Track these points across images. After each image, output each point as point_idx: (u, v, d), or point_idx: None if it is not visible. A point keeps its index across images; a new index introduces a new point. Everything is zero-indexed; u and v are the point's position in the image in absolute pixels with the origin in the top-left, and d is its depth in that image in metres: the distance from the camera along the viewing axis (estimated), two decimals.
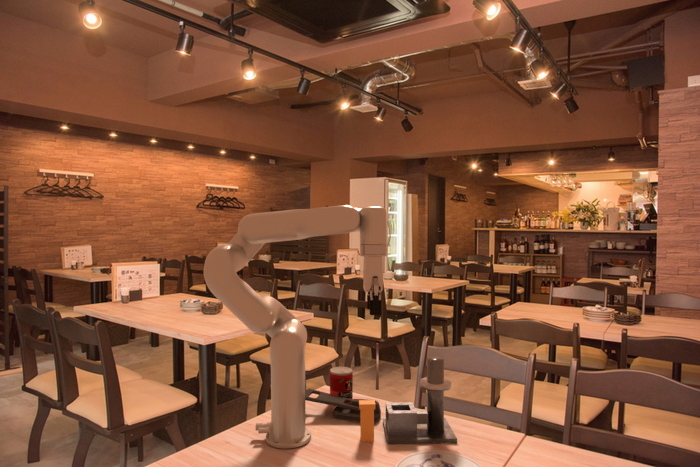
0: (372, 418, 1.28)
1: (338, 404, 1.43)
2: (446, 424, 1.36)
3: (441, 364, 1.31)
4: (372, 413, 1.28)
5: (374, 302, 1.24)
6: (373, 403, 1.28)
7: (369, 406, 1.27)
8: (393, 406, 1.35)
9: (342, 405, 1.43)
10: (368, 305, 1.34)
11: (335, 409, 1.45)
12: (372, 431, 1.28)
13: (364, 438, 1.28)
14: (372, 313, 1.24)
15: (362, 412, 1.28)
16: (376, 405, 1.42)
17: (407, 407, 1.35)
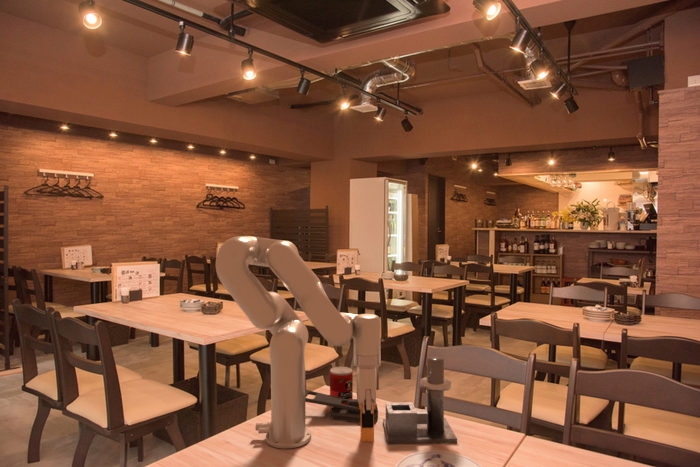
0: None
1: (336, 405, 1.42)
2: (446, 424, 1.36)
3: (441, 364, 1.31)
4: None
5: (366, 416, 1.26)
6: None
7: None
8: (393, 406, 1.35)
9: (340, 405, 1.42)
10: None
11: (332, 410, 1.44)
12: (372, 431, 1.28)
13: (364, 438, 1.28)
14: (364, 426, 1.27)
15: (362, 412, 1.28)
16: None
17: (407, 407, 1.35)
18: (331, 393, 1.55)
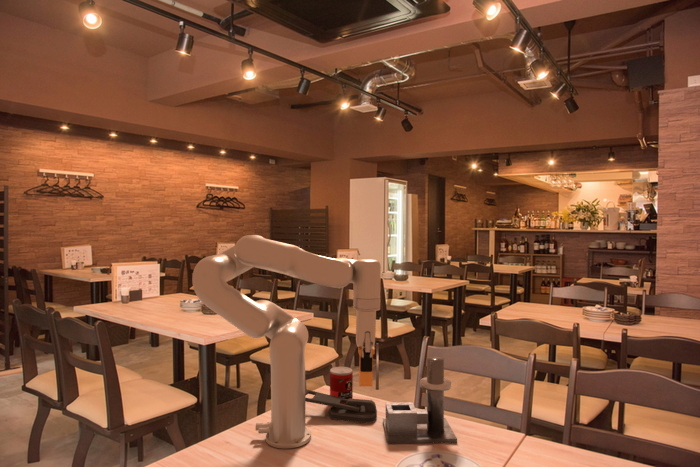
0: None
1: (334, 404, 1.43)
2: (446, 424, 1.36)
3: (441, 364, 1.31)
4: None
5: (365, 359, 1.26)
6: (372, 348, 1.28)
7: None
8: (393, 406, 1.35)
9: (338, 405, 1.42)
10: None
11: (331, 409, 1.45)
12: (371, 376, 1.28)
13: (363, 383, 1.27)
14: (363, 370, 1.27)
15: None
16: (372, 405, 1.42)
17: (407, 407, 1.35)
18: (331, 393, 1.55)
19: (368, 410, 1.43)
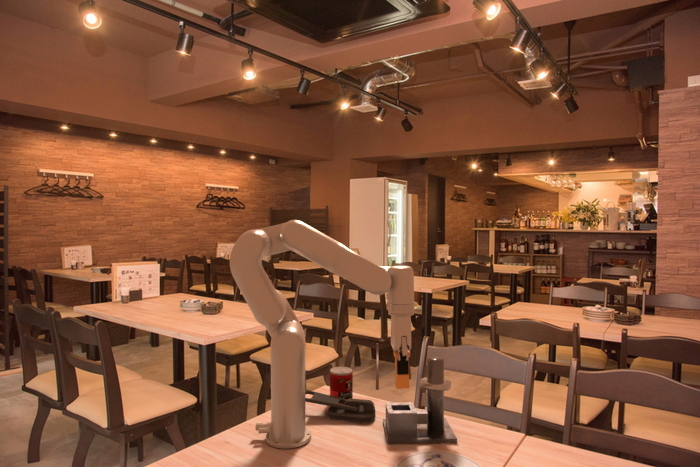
0: None
1: (333, 404, 1.43)
2: (446, 424, 1.36)
3: (441, 364, 1.31)
4: None
5: (402, 362, 1.30)
6: (408, 351, 1.32)
7: None
8: (393, 406, 1.35)
9: (337, 405, 1.43)
10: None
11: (330, 409, 1.45)
12: (407, 378, 1.32)
13: (400, 385, 1.32)
14: (400, 373, 1.31)
15: None
16: (371, 405, 1.42)
17: (407, 407, 1.35)
18: (331, 393, 1.55)
19: (367, 410, 1.43)
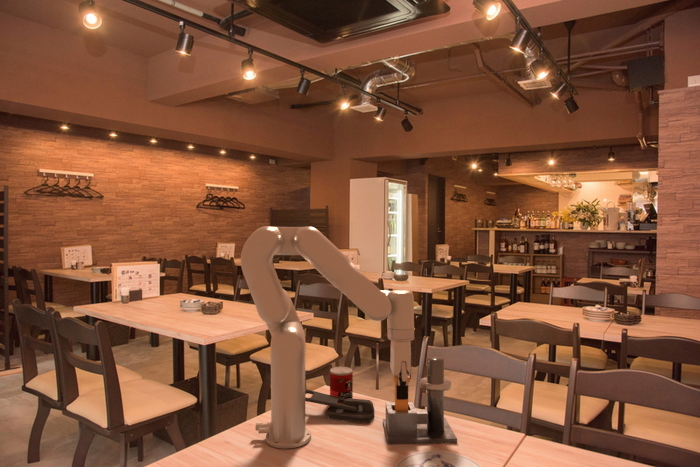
0: None
1: (332, 404, 1.43)
2: (446, 424, 1.36)
3: (441, 364, 1.31)
4: None
5: (401, 388, 1.30)
6: None
7: None
8: (393, 406, 1.35)
9: (336, 405, 1.43)
10: None
11: (329, 409, 1.45)
12: (406, 403, 1.32)
13: None
14: (399, 398, 1.31)
15: None
16: (370, 405, 1.43)
17: None
18: (331, 393, 1.55)
19: (366, 410, 1.43)
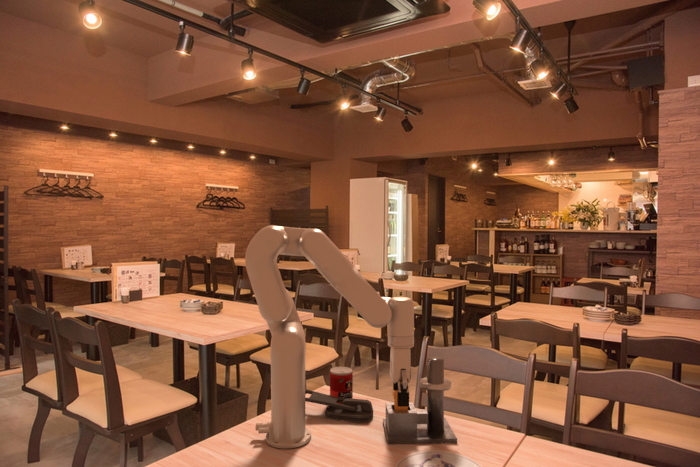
0: (406, 407, 1.32)
1: (330, 404, 1.43)
2: (446, 424, 1.36)
3: (441, 364, 1.31)
4: None
5: (402, 394, 1.27)
6: None
7: None
8: (393, 406, 1.35)
9: (334, 405, 1.43)
10: None
11: (328, 409, 1.45)
12: None
13: None
14: (400, 404, 1.28)
15: (396, 401, 1.32)
16: (368, 405, 1.43)
17: None
18: (331, 393, 1.55)
19: (365, 410, 1.43)
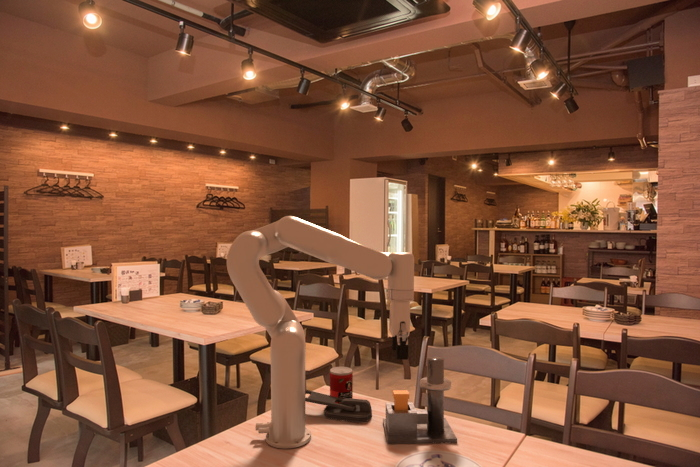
0: (406, 407, 1.32)
1: (329, 403, 1.43)
2: (446, 424, 1.36)
3: (441, 364, 1.31)
4: (406, 402, 1.32)
5: (401, 347, 1.27)
6: (407, 393, 1.32)
7: (403, 396, 1.32)
8: (393, 406, 1.35)
9: (333, 404, 1.43)
10: (393, 346, 1.37)
11: (326, 408, 1.45)
12: None
13: None
14: (399, 357, 1.28)
15: (396, 401, 1.32)
16: (367, 404, 1.43)
17: None
18: (331, 393, 1.55)
19: (363, 410, 1.43)
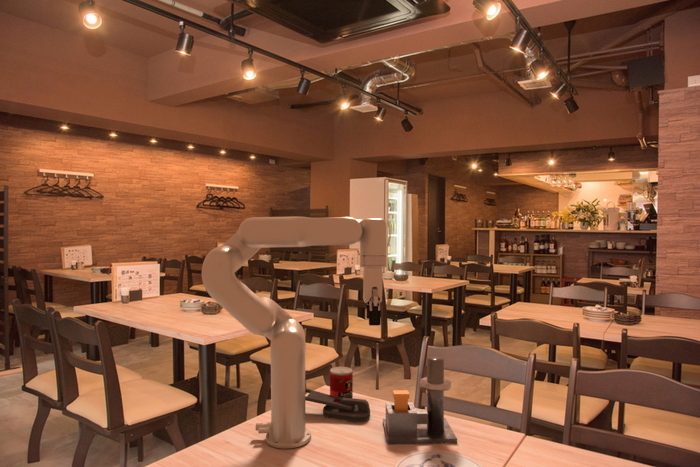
0: (406, 407, 1.32)
1: (327, 403, 1.44)
2: (446, 424, 1.36)
3: (441, 364, 1.31)
4: (406, 402, 1.32)
5: (373, 313, 1.26)
6: (407, 393, 1.32)
7: (403, 396, 1.32)
8: (393, 406, 1.35)
9: (331, 404, 1.44)
10: (367, 315, 1.36)
11: (325, 408, 1.46)
12: None
13: None
14: (371, 323, 1.26)
15: (396, 401, 1.32)
16: (365, 404, 1.43)
17: None
18: (331, 393, 1.55)
19: (361, 410, 1.43)
